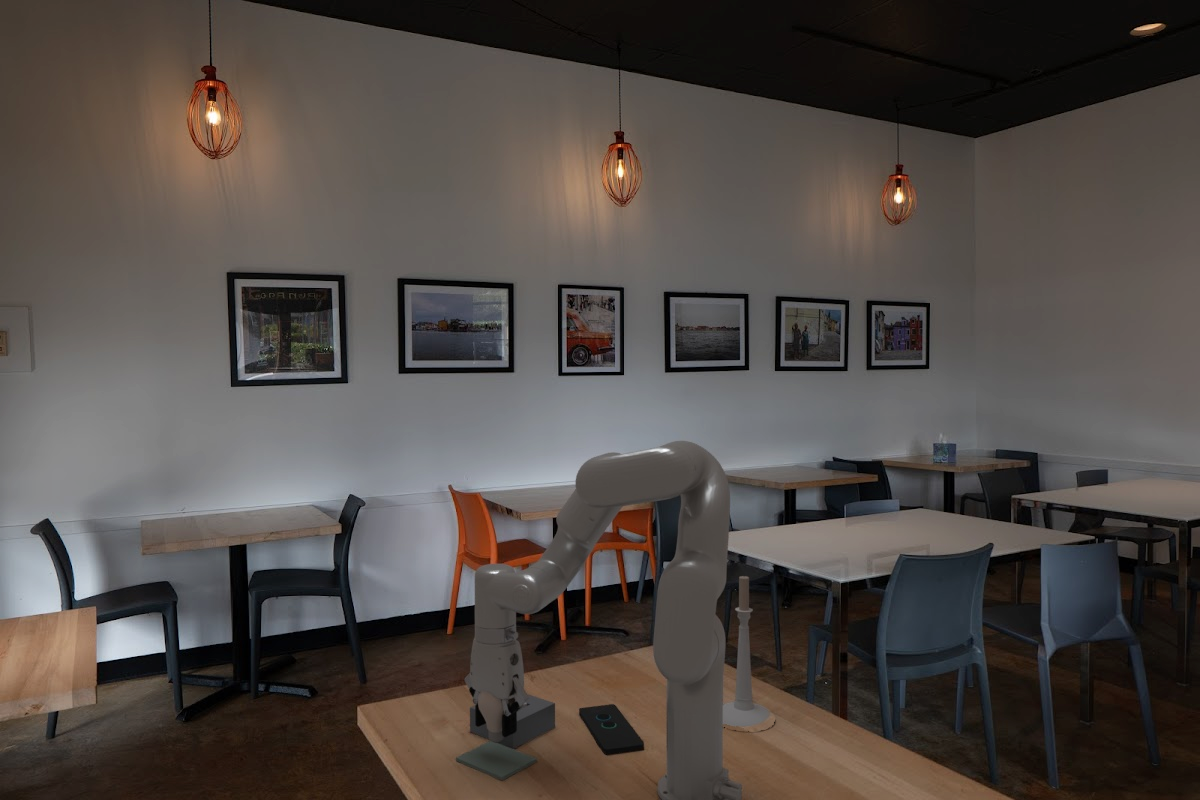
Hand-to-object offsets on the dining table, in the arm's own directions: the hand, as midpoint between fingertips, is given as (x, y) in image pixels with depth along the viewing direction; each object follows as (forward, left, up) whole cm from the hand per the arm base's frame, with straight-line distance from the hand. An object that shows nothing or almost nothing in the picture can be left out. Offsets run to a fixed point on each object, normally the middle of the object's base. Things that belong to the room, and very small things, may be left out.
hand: (495, 728), depth 153 cm
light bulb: (0, 0, -3) cm, 3 cm away
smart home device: (-9, -23, -7) cm, 26 cm away
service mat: (0, 0, -6) cm, 6 cm away
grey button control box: (+7, -12, -6) cm, 15 cm away
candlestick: (-27, -45, -6) cm, 52 cm away
